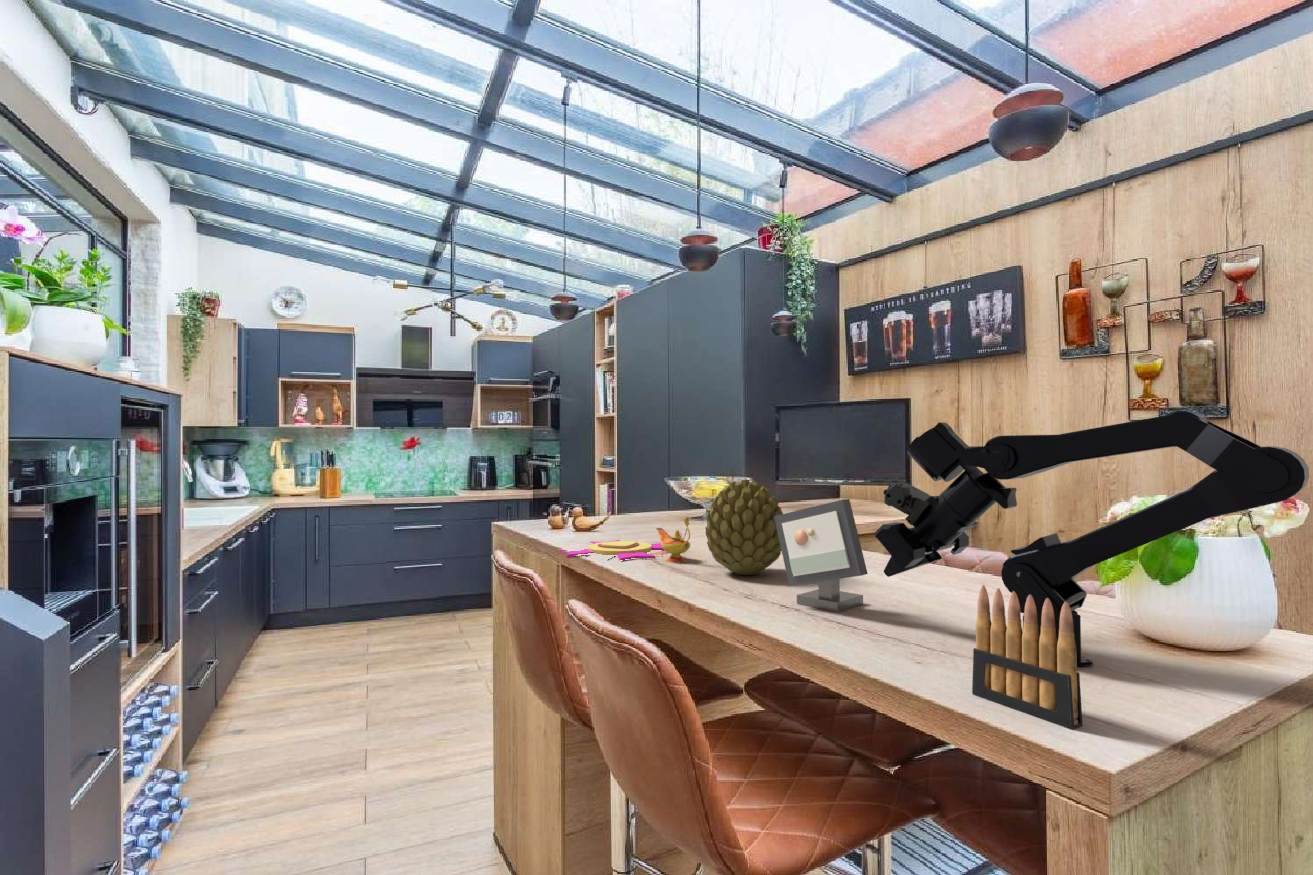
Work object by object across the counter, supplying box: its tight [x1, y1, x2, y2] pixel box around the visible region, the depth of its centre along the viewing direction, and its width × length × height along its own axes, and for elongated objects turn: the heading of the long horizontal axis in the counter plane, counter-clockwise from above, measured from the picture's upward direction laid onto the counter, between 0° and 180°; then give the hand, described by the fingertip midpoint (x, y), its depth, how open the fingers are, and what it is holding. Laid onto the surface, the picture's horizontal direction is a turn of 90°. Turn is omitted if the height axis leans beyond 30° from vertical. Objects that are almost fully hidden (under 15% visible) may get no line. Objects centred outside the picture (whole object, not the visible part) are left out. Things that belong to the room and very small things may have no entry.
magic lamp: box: [655, 516, 691, 563], centre depth 160 cm, size 7×18×11 cm, turn 24°
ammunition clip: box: [971, 584, 1084, 730], centre depth 69 cm, size 11×2×12 cm, turn 30°
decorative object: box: [705, 479, 784, 576], centre depth 142 cm, size 17×17×20 cm
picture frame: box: [774, 498, 868, 587], centre depth 110 cm, size 14×2×12 cm, turn 43°
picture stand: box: [796, 579, 864, 613], centre depth 115 cm, size 8×8×14 cm
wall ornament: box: [558, 539, 669, 560], centre depth 174 cm, size 30×2×30 cm
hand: (886, 573), depth 101 cm, fingers closed
